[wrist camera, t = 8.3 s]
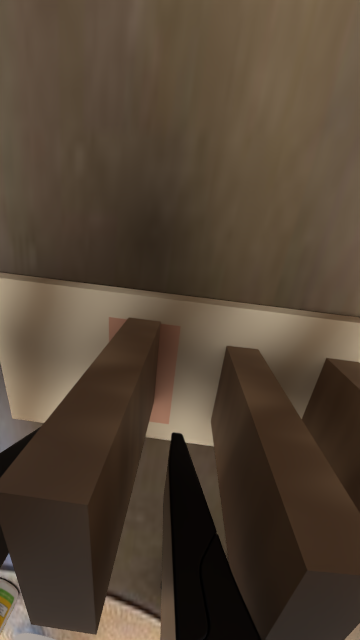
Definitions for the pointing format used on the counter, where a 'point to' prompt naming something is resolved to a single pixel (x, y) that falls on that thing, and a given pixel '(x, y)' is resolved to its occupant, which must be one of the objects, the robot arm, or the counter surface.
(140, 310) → the domino board
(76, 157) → the counter surface
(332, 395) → the domino
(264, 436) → the domino
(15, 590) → the supplement bottle
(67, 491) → the domino
